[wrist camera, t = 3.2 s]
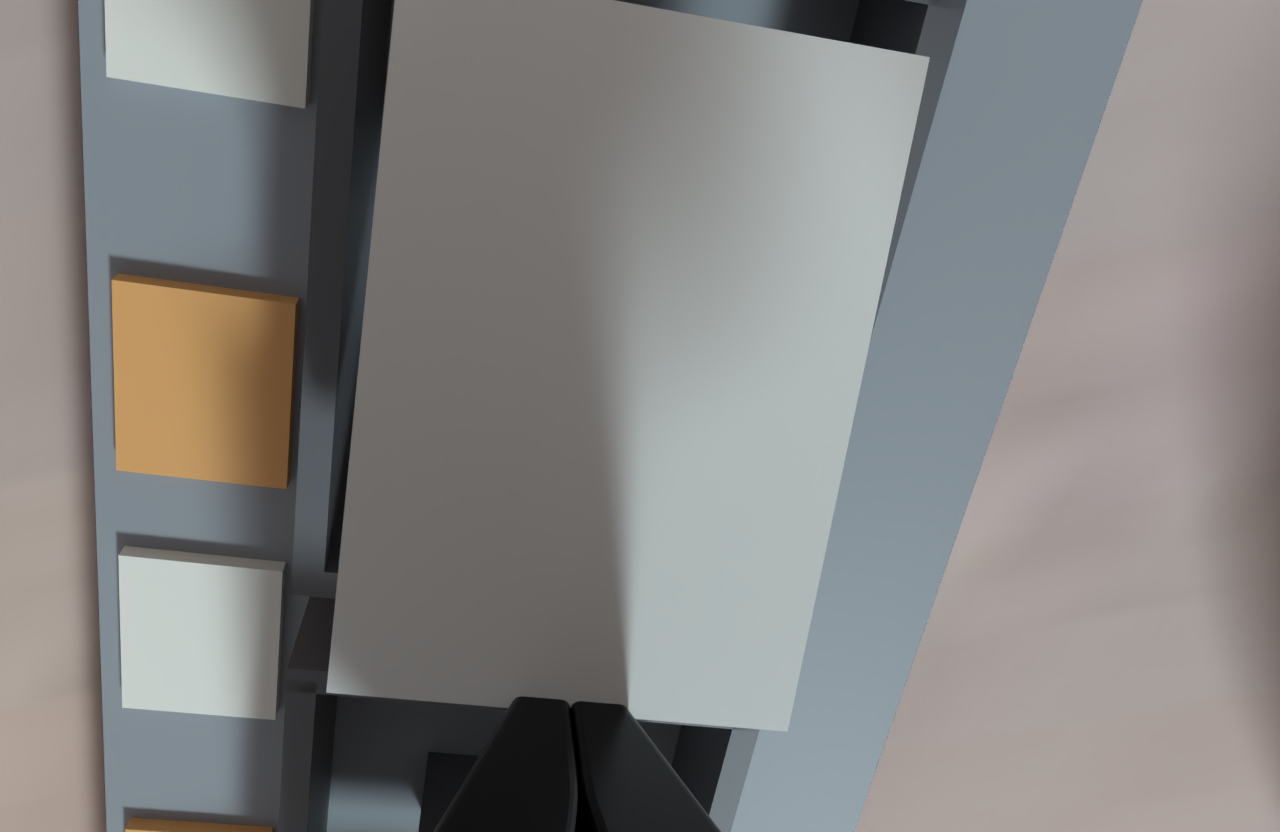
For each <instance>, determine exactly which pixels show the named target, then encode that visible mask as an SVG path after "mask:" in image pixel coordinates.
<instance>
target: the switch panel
mask: <svg viewBox="0 0 1280 832" xmlns="http://www.w3.org/2000/svg"><path fill="white" fill-rule="evenodd" d="M615 1H621V2H626V3H632V4H637V5H643V6H648V7H654V8H660V9H665V10H671V11H676V12H682V13H687V14H693V15H698V16H704V17H709V18H715V19H721V20H726V21H732V22H737V23H743V24H748V25H754V26H759V27H765V28H770V29H776V30H782V31H787V32H793V33H798V34H804V35H809V36H815V37H820V38H826V39H831V40H837V41H843V42H848V43H854V44H859V45H865V46H870V47H876V48H881V49H887V50H892V51H898V52H903V53H909V54H915V55H920V56H926V57H930V60H929V64H928V69H927V74H926V79H925V83H924V88H923V93H922V97H921V102H920V107H919V112H918V116H917V121H916V126H915V131H914V135H913V140H912V145H911V150H910V154H909V159H908V164H907V168H906V173H905V178H904V183H903V187H902V192H901V197H900V202H899V206H898V211H897V216H896V221H895V225H894V230H893V235H892V240H891V244H890V249H889V254H888V258H887V263H886V268H885V273H884V277H883V282H882V287H881V292H880V296H879V301H878V306H877V311H876V315H875V320H874V325H873V330H872V334H871V339H870V344H869V348H868V353H867V358H866V363H865V367H864V372H863V377H862V382H861V386H860V391H859V396H858V401H857V405H856V410H855V415H854V420H853V424H852V429H851V434H850V438H849V443H848V448H847V453H846V457H845V462H844V467H843V472H842V476H841V481H840V486H839V491H838V495H837V500H836V505H835V510H834V514H833V519H832V524H831V528H830V533H829V538H828V543H827V547H826V552H825V557H824V562H823V566H822V571H821V576H820V581H819V585H818V590H817V595H816V600H815V604H814V609H813V614H812V618H811V623H810V628H809V633H808V637H807V642H806V647H805V652H804V656H803V661H802V666H801V671H800V675H799V680H798V685H797V690H796V694H795V699H794V704H793V708H792V713H791V718H790V723H789V727H788V732H784V731H772V730H760V729H749V728H737V727H725V726H713V725H702V724H690V723H678V722H666V721H654V720H643V719H636V721H637V722H638V723H639V724H640V726H641V727H642V728H643V730H644V731H645V732H646V734H647V735H648V736H649V738H650V739H651V740H652V742H653V743H654V744H655V745H656V747H657V748H658V749H659V751H660V752H661V753H662V755H663V756H664V757H665V759H666V760H667V761H668V763H669V764H670V765H671V766H672V768H673V769H674V770H675V772H676V773H677V774H678V776H679V777H680V778H681V780H682V781H683V782H684V783H685V785H686V786H687V787H688V789H689V790H690V791H691V793H692V794H693V795H694V797H695V798H696V799H697V801H698V802H699V803H700V804H701V806H702V807H703V808H704V810H705V811H706V812H707V814H708V815H709V816H710V818H711V819H712V820H713V822H714V823H715V824H716V825H717V827H718V828H719V829H720V831H721V832H854V830H855V828H856V825H857V822H858V819H859V816H860V813H861V810H862V807H863V805H864V802H865V799H866V796H867V793H868V790H869V787H870V784H871V782H872V779H873V776H874V773H875V770H876V767H877V764H878V761H879V758H880V756H881V753H882V750H883V747H884V744H885V741H886V738H887V735H888V733H889V730H890V727H891V724H892V721H893V718H894V715H895V712H896V710H897V707H898V704H899V701H900V698H901V695H902V692H903V689H904V686H905V684H906V681H907V678H908V675H909V672H910V669H911V666H912V663H913V661H914V658H915V655H916V652H917V649H918V646H919V643H920V640H921V638H922V635H923V632H924V629H925V626H926V623H927V620H928V617H929V614H930V612H931V609H932V606H933V603H934V600H935V597H936V594H937V591H938V589H939V586H940V583H941V580H942V577H943V574H944V571H945V568H946V565H947V563H948V560H949V557H950V554H951V551H952V548H953V545H954V542H955V540H956V537H957V534H958V531H959V528H960V525H961V522H962V519H963V517H964V514H965V511H966V508H967V505H968V502H969V499H970V496H971V493H972V491H973V488H974V485H975V482H976V479H977V476H978V473H979V470H980V468H981V465H982V462H983V459H984V456H985V453H986V450H987V447H988V445H989V442H990V439H991V436H992V433H993V430H994V427H995V424H996V421H997V419H998V416H999V413H1000V410H1001V407H1002V404H1003V401H1004V398H1005V396H1006V393H1007V390H1008V387H1009V384H1010V381H1011V378H1012V375H1013V373H1014V370H1015V367H1016V364H1017V361H1018V358H1019V355H1020V352H1021V349H1022V347H1023V344H1024V341H1025V338H1026V335H1027V332H1028V329H1029V326H1030V324H1031V321H1032V318H1033V315H1034V312H1035V309H1036V306H1037V303H1038V301H1039V298H1040V295H1041V292H1042V289H1043V286H1044V283H1045V280H1046V277H1047V275H1048V272H1049V269H1050V266H1051V263H1052V260H1053V257H1054V254H1055V252H1056V249H1057V246H1058V243H1059V240H1060V237H1061V234H1062V231H1063V229H1064V226H1065V223H1066V220H1067V217H1068V214H1069V211H1070V208H1071V205H1072V203H1073V200H1074V197H1075V194H1076V191H1077V188H1078V185H1079V182H1080V180H1081V177H1082V174H1083V171H1084V168H1085V165H1086V162H1087V159H1088V157H1089V154H1090V151H1091V148H1092V145H1093V142H1094V139H1095V136H1096V133H1097V131H1098V128H1099V125H1100V122H1101V119H1102V116H1103V113H1104V110H1105V108H1106V105H1107V102H1108V99H1109V96H1110V93H1111V90H1112V87H1113V85H1114V82H1115V79H1116V76H1117V73H1118V70H1119V67H1120V64H1121V61H1122V59H1123V56H1124V53H1125V50H1126V47H1127V44H1128V41H1129V38H1130V36H1131V33H1132V30H1133V27H1134V24H1135V21H1136V18H1137V15H1138V13H1139V10H1140V7H1141V4H1142V1H1143V0H615ZM394 2H395V0H78V17H79V46H80V75H81V104H82V132H83V161H84V190H85V219H86V248H87V277H88V306H89V335H90V364H91V393H92V422H93V451H94V480H95V509H96V538H97V567H98V596H99V625H100V654H101V683H102V711H103V740H104V769H105V798H106V827H107V832H434V830H435V828H436V827H437V825H438V823H439V822H440V820H441V818H442V817H443V815H444V813H445V812H446V810H447V808H448V807H449V805H450V803H451V802H452V800H453V799H454V797H455V795H456V794H457V792H458V790H459V789H460V787H461V785H462V784H463V782H464V780H465V779H466V777H467V775H468V774H469V772H470V770H471V769H472V767H473V766H474V764H475V762H476V761H477V759H478V757H479V756H480V754H481V752H482V751H483V749H484V747H485V746H486V744H487V742H488V741H489V739H490V737H491V736H492V734H493V732H494V731H495V729H496V728H497V726H498V724H499V723H500V721H501V719H502V718H503V716H504V714H505V713H506V711H507V709H508V708H501V707H489V706H478V705H466V704H454V703H442V702H431V701H419V700H407V699H395V698H383V697H372V696H360V695H348V694H336V693H326V689H327V679H328V669H329V659H330V649H331V639H332V629H333V619H334V608H335V598H336V588H337V578H338V568H339V558H340V548H341V538H342V527H343V517H344V507H345V497H346V487H347V477H348V467H349V457H350V447H351V436H352V426H353V416H354V406H355V396H356V386H357V376H358V366H359V356H360V345H361V335H362V325H363V315H364V305H365V295H366V285H367V275H368V265H369V254H370V244H371V234H372V224H373V214H374V204H375V194H376V184H377V174H378V163H379V153H380V143H381V133H382V123H383V113H384V103H385V93H386V82H387V72H388V62H389V52H390V42H391V32H392V22H393V12H394Z"/></svg>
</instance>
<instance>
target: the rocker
mask: <svg viewBox="0 0 1280 832" xmlns="http://www.w3.org/2000/svg"><path fill="white" fill-rule="evenodd" d="M929 60H930V57H926V56H920V55H915V54H909V53H903V52H898V51H892V50H887V49H881V48H876V47H870V46H865V45H859V44H854V43H848V42H843V41H837V40H831V39H826V38H820V37H815V36H809V35H804V34H798V33H793V32H787V31H782V30H776V29H770V28H765V27H759V26H754V25H748V24H743V23H737V22H732V21H726V20H721V19H715V18H709V17H704V16H698V15H693V14H687V13H682V12H676V11H671V10H665V9H660V8H654V7H648V6H643V5H637V4H632V3H626V2H621V1H615V0H395V2H394V12H393V22H392V32H391V42H390V52H389V62H388V72H387V82H386V93H385V103H384V113H383V123H382V133H381V143H380V153H379V163H378V174H377V184H376V194H375V204H374V214H373V224H372V234H371V244H370V254H369V265H368V275H367V285H366V295H365V305H364V315H363V325H362V335H361V345H360V356H359V366H358V376H357V386H356V396H355V406H354V416H353V426H352V436H351V447H350V457H349V467H348V477H347V487H346V497H345V507H344V517H343V527H342V538H341V548H340V558H339V568H338V578H337V588H336V598H335V608H334V619H333V629H332V639H331V649H330V659H329V669H328V679H327V689H326V693H336V694H348V695H360V696H372V697H383V698H395V699H407V700H419V701H431V702H442V703H454V704H466V705H478V706H489V707H501V708H509V706H510V704H511V703H512V701H513V700H514V699H515V698H517V697H520V696H524V697H537V698H549V699H561V700H565V701H567V702H568V703H569V705H570V709H571V706H572V705H573V704H574V703H575V702H578V701H585V702H598V703H610V704H621V705H624V706H625V707H627V709H628V710H629V711H630V713H631V714H632V715H633V717H634V718H635V719H643V720H654V721H666V722H678V723H690V724H702V725H713V726H725V727H737V728H749V729H760V730H772V731H784V732H788V727H789V723H790V718H791V713H792V708H793V704H794V699H795V694H796V690H797V685H798V680H799V675H800V671H801V666H802V661H803V656H804V652H805V647H806V642H807V637H808V633H809V628H810V623H811V618H812V614H813V609H814V604H815V600H816V595H817V590H818V585H819V581H820V576H821V571H822V566H823V562H824V557H825V552H826V547H827V543H828V538H829V533H830V528H831V524H832V519H833V514H834V510H835V505H836V500H837V495H838V491H839V486H840V481H841V476H842V472H843V467H844V462H845V457H846V453H847V448H848V443H849V438H850V434H851V429H852V424H853V420H854V415H855V410H856V405H857V401H858V396H859V391H860V386H861V382H862V377H863V372H864V367H865V363H866V358H867V353H868V348H869V344H870V339H871V334H872V330H873V325H874V320H875V315H876V311H877V306H878V301H879V296H880V292H881V287H882V282H883V277H884V273H885V268H886V263H887V258H888V254H889V249H890V244H891V240H892V235H893V230H894V225H895V221H896V216H897V211H898V206H899V202H900V197H901V192H902V187H903V183H904V178H905V173H906V168H907V164H908V159H909V154H910V150H911V145H912V140H913V135H914V131H915V126H916V121H917V116H918V112H919V107H920V102H921V97H922V93H923V88H924V83H925V79H926V74H927V69H928V64H929Z"/></svg>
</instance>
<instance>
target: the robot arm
mask: <svg viewBox="0 0 1280 832" xmlns="http://www.w3.org/2000/svg"><path fill="white" fill-rule="evenodd" d="M434 832H721V831H720V829H719V828H718V827H717V825H716V824H715V823H714V822H713V820H712V819H711V818H710V816H709V815H708V814H707V812H706V811H705V810H704V808H703V807H702V806H701V804H700V803H699V802H698V801H697V799H696V798H695V797H694V795H693V794H692V793H691V791H690V790H689V789H688V787H687V786H686V785H685V783H684V782H683V781H682V780H681V778H680V777H679V776H678V774H677V773H676V772H675V770H674V769H673V768H672V766H671V765H670V764H669V763H668V761H667V760H666V759H665V757H664V756H663V755H662V753H661V752H660V751H659V749H658V748H657V747H656V745H655V744H654V743H653V742H652V740H651V739H650V738H649V736H648V735H647V734H646V732H645V731H644V730H643V728H642V727H641V726H640V724H639V723H638V722H637V721H636V719H635V718H634V717H633V715H632V714H631V713H630V711H629V710H628V709H627V707H625V706H624V705H621V704H610V703H598V702H585V701H578V702H575V703H574V704H573V705H572V706H571V709H570V705H569V703H568V702H567V701H565V700H561V699H549V698H537V697H524V696H520V697H517V698H515V699H514V700H513V701H512V703H511V704H510V706H509V708H508V709H507V711H506V713H505V714H504V716H503V718H502V719H501V721H500V723H499V724H498V726H497V728H496V729H495V731H494V732H493V734H492V736H491V737H490V739H489V741H488V742H487V744H486V746H485V747H484V749H483V751H482V752H481V754H480V756H479V757H478V759H477V761H476V762H475V764H474V766H473V767H472V769H471V770H470V772H469V774H468V775H467V777H466V779H465V780H464V782H463V784H462V785H461V787H460V789H459V790H458V792H457V794H456V795H455V797H454V799H453V800H452V802H451V803H450V805H449V807H448V808H447V810H446V812H445V813H444V815H443V817H442V818H441V820H440V822H439V823H438V825H437V827H436V828H435V830H434Z"/></svg>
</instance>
